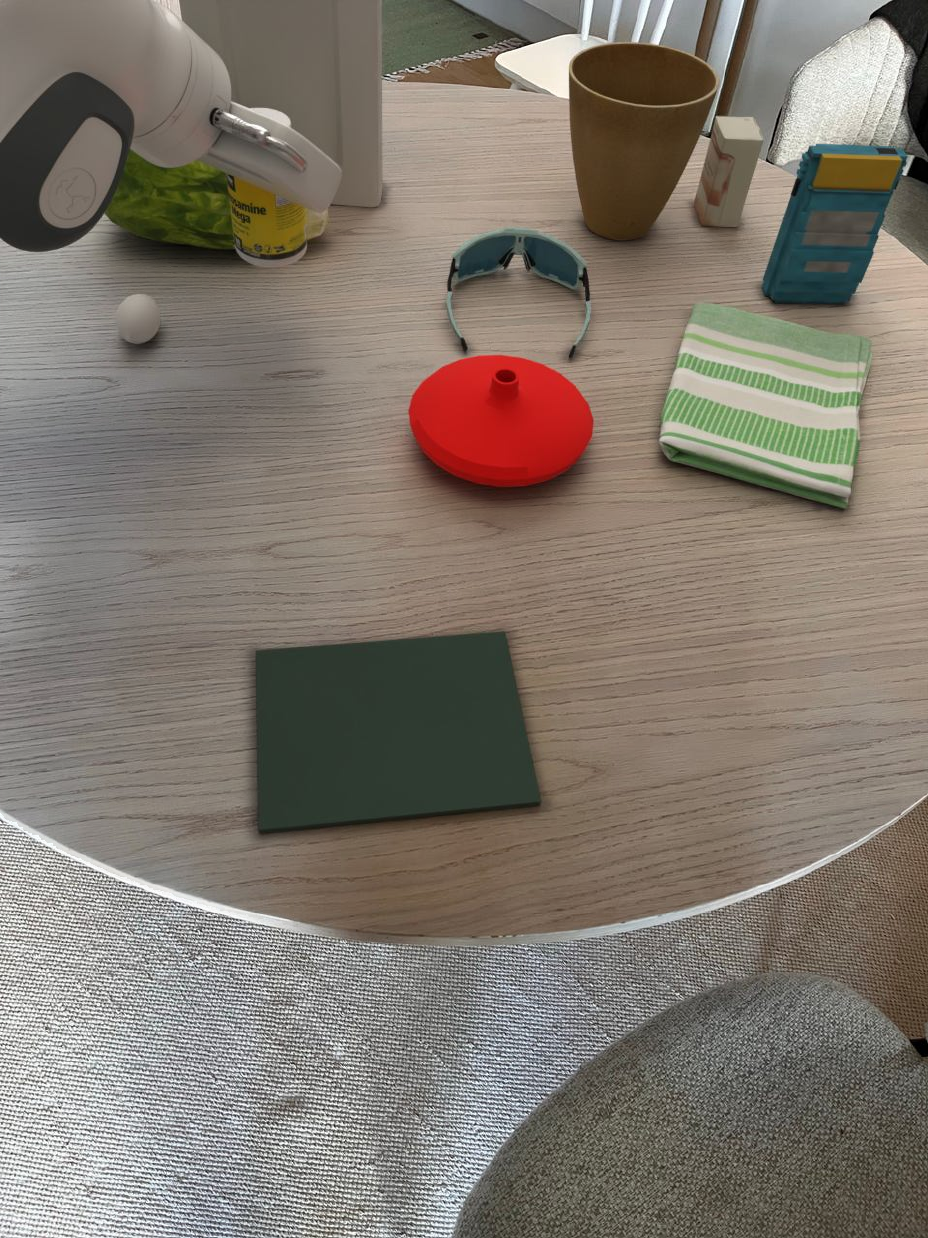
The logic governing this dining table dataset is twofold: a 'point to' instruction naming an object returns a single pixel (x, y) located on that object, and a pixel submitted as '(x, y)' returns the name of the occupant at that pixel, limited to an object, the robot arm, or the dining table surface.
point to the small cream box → (728, 170)
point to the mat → (389, 732)
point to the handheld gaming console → (832, 222)
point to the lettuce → (181, 205)
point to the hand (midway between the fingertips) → (270, 179)
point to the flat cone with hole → (500, 420)
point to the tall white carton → (308, 74)
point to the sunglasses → (538, 255)
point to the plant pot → (634, 130)
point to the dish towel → (767, 402)
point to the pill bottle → (266, 219)
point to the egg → (138, 318)
